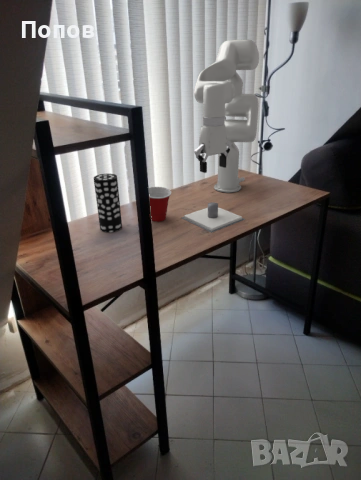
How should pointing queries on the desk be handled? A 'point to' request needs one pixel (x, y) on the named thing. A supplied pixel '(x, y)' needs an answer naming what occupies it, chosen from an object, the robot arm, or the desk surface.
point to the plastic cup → (159, 202)
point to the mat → (215, 229)
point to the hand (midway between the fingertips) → (213, 169)
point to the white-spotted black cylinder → (108, 202)
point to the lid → (212, 217)
